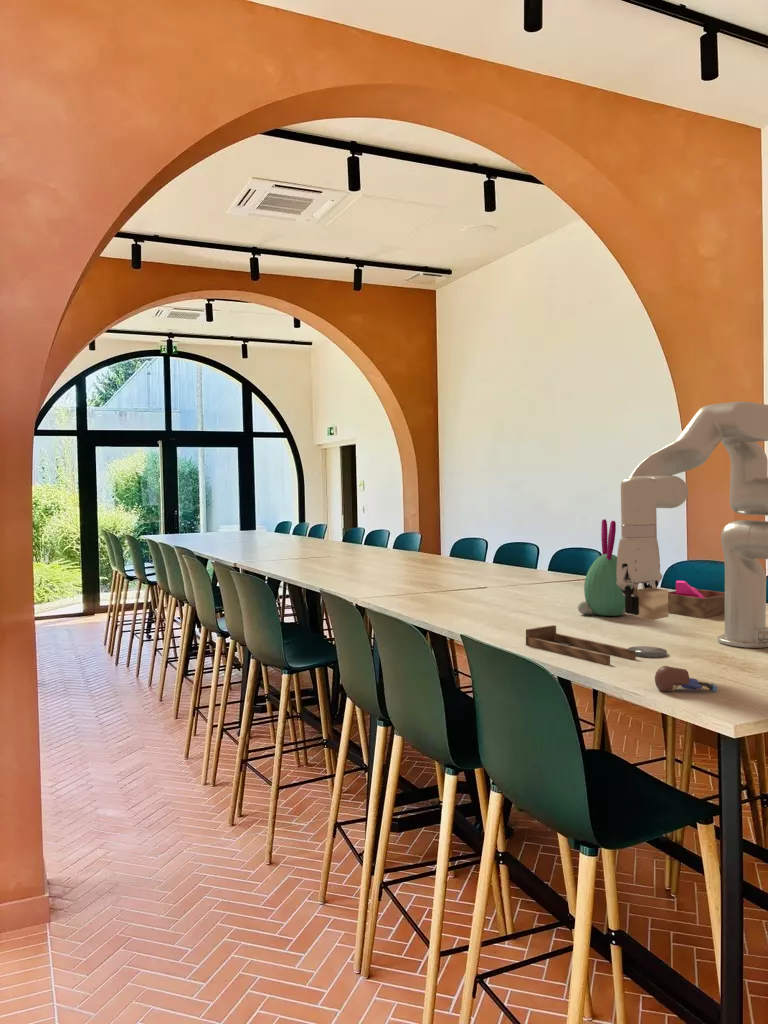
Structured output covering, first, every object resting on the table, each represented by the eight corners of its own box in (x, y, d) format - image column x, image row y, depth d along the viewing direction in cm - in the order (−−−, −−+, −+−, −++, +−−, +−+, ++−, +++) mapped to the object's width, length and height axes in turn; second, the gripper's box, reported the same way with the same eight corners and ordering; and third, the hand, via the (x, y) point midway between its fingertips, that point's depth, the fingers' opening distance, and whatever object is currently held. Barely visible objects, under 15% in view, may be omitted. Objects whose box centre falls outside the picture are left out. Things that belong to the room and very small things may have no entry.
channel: (635, 658, 174) (635, 641, 174) (607, 664, 168) (607, 647, 168) (553, 640, 195) (553, 625, 195) (525, 644, 190) (525, 629, 190)
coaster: (674, 654, 178) (675, 651, 178) (651, 659, 173) (651, 656, 173) (643, 647, 185) (643, 644, 185) (619, 652, 180) (619, 649, 180)
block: (668, 616, 164) (667, 589, 164) (653, 619, 161) (653, 592, 161) (649, 613, 168) (649, 587, 168) (634, 616, 165) (634, 589, 165)
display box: (736, 612, 236) (736, 594, 236) (703, 618, 226) (704, 598, 226) (692, 606, 249) (692, 588, 248) (660, 611, 239) (660, 592, 239)
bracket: (675, 614, 236) (675, 582, 236) (677, 609, 245) (677, 578, 245) (716, 617, 231) (717, 584, 231) (716, 611, 240) (717, 580, 240)
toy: (639, 619, 226) (639, 521, 225) (583, 618, 226) (583, 521, 225) (625, 610, 241) (625, 518, 240) (573, 610, 241) (573, 519, 240)
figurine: (708, 696, 149) (649, 686, 150) (712, 671, 149) (653, 661, 149) (718, 704, 144) (657, 694, 144) (723, 678, 144) (662, 668, 144)
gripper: (648, 529, 174) (649, 605, 175) (600, 534, 165) (601, 615, 166) (676, 530, 168) (677, 609, 169) (628, 535, 158) (629, 619, 159)
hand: (640, 611), depth 167 cm, fingers closed on block, 5 cm apart
